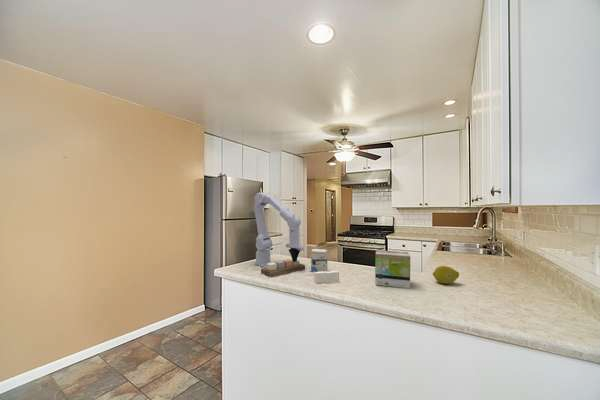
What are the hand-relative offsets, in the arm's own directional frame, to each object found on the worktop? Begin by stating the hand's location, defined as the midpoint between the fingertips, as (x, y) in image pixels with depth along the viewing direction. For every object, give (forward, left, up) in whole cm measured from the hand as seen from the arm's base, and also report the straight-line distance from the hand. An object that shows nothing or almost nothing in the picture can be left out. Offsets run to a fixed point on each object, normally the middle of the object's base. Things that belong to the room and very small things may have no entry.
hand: (294, 261), depth 144 cm
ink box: (+13, +7, -4) cm, 15 cm away
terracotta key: (0, -5, -2) cm, 5 cm away
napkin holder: (+28, -3, -5) cm, 28 cm away
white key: (0, -16, -2) cm, 16 cm away
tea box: (+50, +19, -4) cm, 54 cm away
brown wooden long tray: (0, -8, -4) cm, 9 cm away
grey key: (0, -10, -2) cm, 11 cm away
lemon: (+66, +38, -4) cm, 76 cm away
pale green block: (0, 0, -3) cm, 3 cm away
